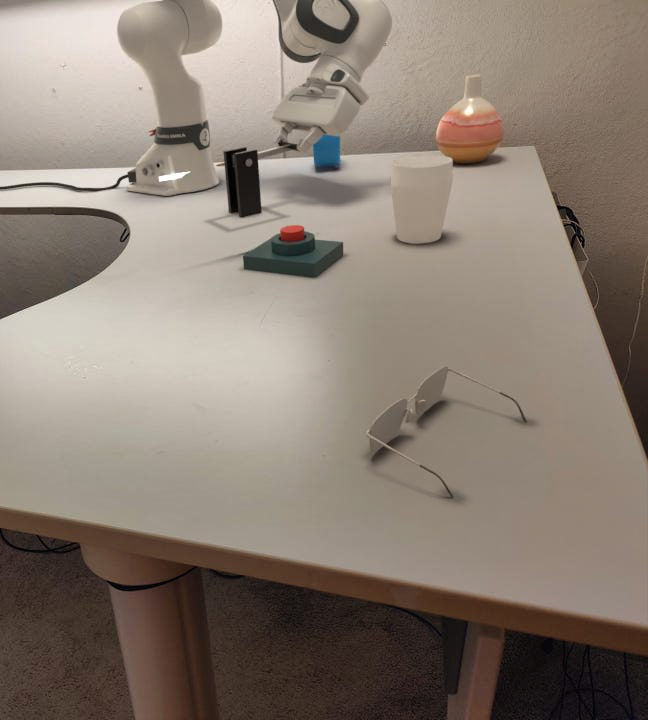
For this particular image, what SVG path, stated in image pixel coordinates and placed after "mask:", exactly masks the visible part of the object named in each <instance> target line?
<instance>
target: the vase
mask: <svg viewBox="0 0 648 720" xmlns="http://www.w3.org/2000/svg"><path fill="white" fill-rule="evenodd" d="M464 81H465V83H464V91H463V97H462V98H461V99H460V100H458V101H457V102H456V103H455V104H453V105H452V106H451V107H450V108H449V109H448V110H447V111H446V112H445V113H444V114H443V116H442V117H441V119H440V121H439V122H438V124H437V129H436V134H435V142H436V146H437V148H438V150H439V151H440V153H441V154H442V156H447V157H450V158H452V159H453V163H454V164H463V165H465V164H466V165H467V164H476V163H481V162H483V161H485V160H486V159H487V158H488V157H489V156H491V155H492V154H493V153H494V152H495V151H496V150H497V149H498V148H499V147H500V145H501V144H502V141H503V138H504V133H505V124H504V120H503V116H502V115H501V113H500V112H499V110H498V109H497V108H496V107H495V106H494V105H493V104H492V103H491V102H489V101H488V100H486V99H485V98H484V97H482V96H481V94H482V93H481V92H482V74H468V75H466V76H465V80H464Z"/></svg>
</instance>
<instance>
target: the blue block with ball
mask: <svg viewBox="0 0 648 720" xmlns="http://www.w3.org/2000/svg"><path fill="white" fill-rule="evenodd" d="M312 152H313V165H314V167H315V168H327V167H334V169H335V170H337V167H339V166H340V165H341V135H340V136H331V135H325V134H324V135H323V136H322V138H321V139H320V140H319V141H317V142H316V143H315V144H314V145H312Z"/></svg>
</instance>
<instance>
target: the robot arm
mask: <svg viewBox="0 0 648 720" xmlns="http://www.w3.org/2000/svg"><path fill="white" fill-rule="evenodd" d="M272 3H273V5H274V9H275V11H276V16H277V21H278V22H277V23H278V41H279V45H280V49H281V50H282V52H283V53H284V54H285V56H286V57H287V58H288V59H290V60H291V61H294V62H295V63H300V64H309V63H312V62H315V61H317V62H316V63H315V65H314V66H313V68H312V69H311V71H310V72H309V74H308V75H307V77H306V79H305V81H306V82H302V83H300V85H298V86H294V87H292V88H291V89H290V90H289V91H288V92H287V93H286V94H285V96H284V97H283V98H282V99H281V101H280V102H279V104H278V105H277V106H276V108H275V109H274V110H273V112H272V117H271V119H272V120H273V121H274V122H275V123H276V124H277V125H278V126H279V127H278V133H277V136H276V138H275V139H274V141H273V145H275V147H280V143H281V142H288V143H289V141H288V136H289V134H292V131H293V130H294V131H301V132H305V133H308V134H307V135H306V136H305V137H304V138H303V139H300V140H299V142H298V143H297V144H298V145H297V149H298V150H299V151H300V153H303V154H307V153H308V152H309V151H310V149H311V147H313V145H314V144H315V143H316V142H317V141H319V140H320V139H321V138H322V136H323V135H324V134H325V135H331V136H340V137H341V135H343V134H344V133H345V132H346V131H347V130H348V128H349V127H350V126H351V125H352V123H353V122H354V120H355V118H356V117H357V116H358V114H359V112H360V109H361V106H363V105H365V104H366V103H367V101H368V100H369V98H370V96H369V93H368V92H367V91H366V89H364V87H363V86H362V85H361V82H362V79H363V76H364V74H365V73H366V71H367V70H368V69H369V68H370V67H371V66H372V65H373V64H374V63H375V61H376V59H377V57H378V56H379V54H380V53H381V52H382V50H383V48H384V46H385V44H386V42H387V40H388V38H389V36H390V33H391V31H392V26H393V18H392V14H391V11H390V10H389V8H388V7H387V5H386V4H385V3H384V2H383V1H382V0H272ZM222 31H223V17H222V14H221V11H220V8H219V7H218V6H217V5H216V3H215V2H214V1H213V0H157V1H155V0H154V1H147V2H142V3H139V4H136V5H133V6H131V7H129V8H127V9H125V10H124V11H122V13H121V14H120V16H119V18H118V21H117V26H116V37H117V42H118V44H119V47H120V49H121V50H122V52H123V53H124V55H126V56H127V57H128V58H129V59H130V60H132V61H133V62H134V63H135V64H137V66H138V67H139V69H141V71H142V72H143V74H144V76H145V77H146V80H147V81H148V84H149V87H150V90H151V92H152V96H153V97H152V98H153V102H154V108H155V114H156V120H157V121H156V122H157V126H156V127H155V129H152V130H149V131H148V133H150V134H149V137H153V136H154V137H153V144H152V145H151V146H150V148H148V150H147V151H146V152H145V153H144V154H143V155H142V156H141V157H140V158H139V160H138V161H137V162H136V164H135V167H134V168H133V169H130V170H129V171H126V172H127V174H124V175H121V176H120V177H119V178H118V179H117V181H116V183H115V184H113V185H111V186H107V187H80V186H79V187H78V186H75V185H72V184H66V183H62V182H55V181H54V182H52V181H51V182H50V181H40V182H27V183H19V184H12V185H5V186H0V191H2V190H3V191H4V190H11V189H19V188H25V187H33V186H34V187H36V186H37V187H38V186H55V187H56V186H57V187H62V188H66V189H72V190H75V191H80V192H102V191H109V190H114V189H117V188H118V187H119V186H120V184H121V182H122V181H124V179H128V183H129V185H127V191H128V192H134V193H142V194H149V195H156V196H157V195H158V196H163V197H168V196H169V197H170V196H174V195H179V194H185V193H186V194H187V193H195V192H199V191H203V190H207V189H210V188H214V187H215V186H217V185H219V184H220V179H219V177H218V173H217V171H216V168H215V164H214V161H213V156H212V152H211V151H212V150H211V133H210V126H209V125H210V124H209V121H208V119H207V114H206V113H207V112H206V105H205V104H206V103H205V95H204V87H203V84H202V83H201V81H200V80H199V79H198V78H196V77H195V76H193V75H191V74H190V73H189V72H188V70H187V68H186V67H185V64H184V61H183V57H182V56H186V55H193V54H199V53H201V52H203V51H206V50H208V49H209V48H212V47H213V46H215V45H216V44H217V43H218V42H219V40H220V38H221V36H222ZM299 151H298V152H299Z"/></svg>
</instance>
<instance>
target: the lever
mask: <svg viewBox="0 0 648 720" xmlns="http://www.w3.org/2000/svg"><path fill="white" fill-rule="evenodd" d="M298 144H299V143H292V142H289V141H288V142H281V143H280V147H277V146H275V147H272V148H269V149H265V150H262V151H257V152H258V160H261V159H264V158H268V157H272V156H275V155H280V154H283V153H286V152H290V151H295V152H298V153H299V152H300V151H299V150H298V149H297V145H298ZM300 153H301V152H300ZM231 161H232V168H234V169H235V164H234V154H233V155H231Z"/></svg>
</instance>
